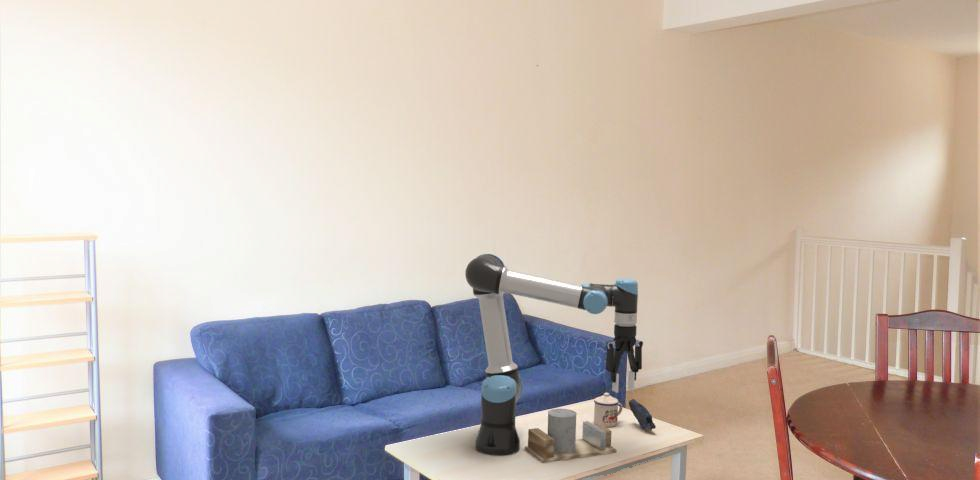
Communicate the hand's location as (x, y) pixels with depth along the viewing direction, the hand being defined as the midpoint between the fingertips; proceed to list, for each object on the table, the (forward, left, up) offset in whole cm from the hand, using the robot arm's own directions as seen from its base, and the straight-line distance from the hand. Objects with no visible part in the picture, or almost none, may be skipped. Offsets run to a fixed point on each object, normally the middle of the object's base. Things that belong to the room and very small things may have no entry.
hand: (623, 390), depth 267 cm
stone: (+16, +11, -19) cm, 27 cm away
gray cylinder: (-23, 0, -18) cm, 30 cm away
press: (-20, 0, -19) cm, 27 cm away
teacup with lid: (+8, +21, -19) cm, 29 cm away
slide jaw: (-9, 0, -18) cm, 20 cm away
